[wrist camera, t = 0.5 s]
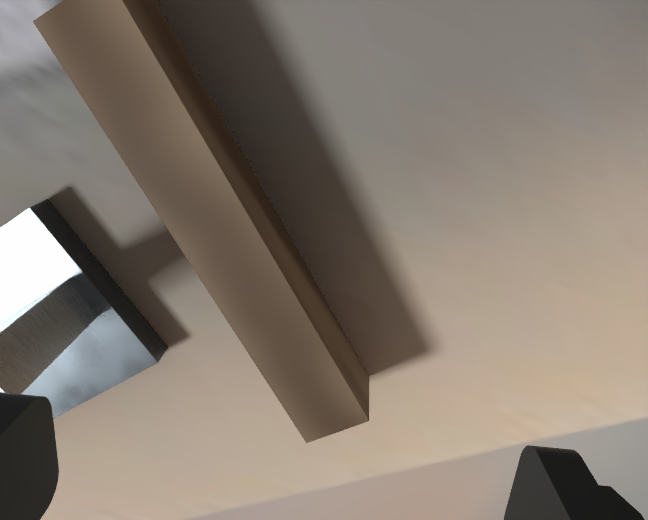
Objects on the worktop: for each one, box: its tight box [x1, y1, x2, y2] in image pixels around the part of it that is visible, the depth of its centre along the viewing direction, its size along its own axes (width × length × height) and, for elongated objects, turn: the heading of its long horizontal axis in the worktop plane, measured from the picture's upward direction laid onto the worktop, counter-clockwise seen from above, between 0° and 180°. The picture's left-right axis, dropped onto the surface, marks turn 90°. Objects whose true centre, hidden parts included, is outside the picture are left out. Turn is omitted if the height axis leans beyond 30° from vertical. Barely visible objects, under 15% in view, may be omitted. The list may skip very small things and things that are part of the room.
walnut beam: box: [33, 0, 369, 443], centre depth 24 cm, size 4×22×4 cm, turn 27°
